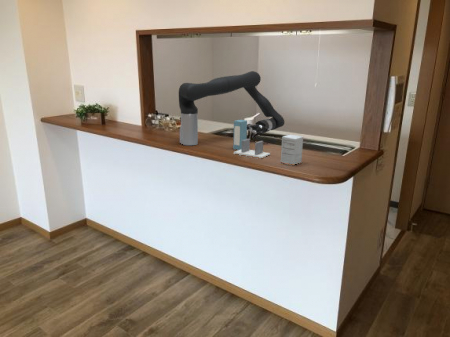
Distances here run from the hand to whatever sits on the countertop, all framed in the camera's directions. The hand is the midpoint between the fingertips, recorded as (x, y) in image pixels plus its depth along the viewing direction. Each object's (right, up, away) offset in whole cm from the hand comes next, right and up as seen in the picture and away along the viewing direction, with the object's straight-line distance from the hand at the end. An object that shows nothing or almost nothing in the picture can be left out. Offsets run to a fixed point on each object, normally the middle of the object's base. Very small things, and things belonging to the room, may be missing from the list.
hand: (250, 130), depth 204 cm
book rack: (0, -14, -19) cm, 24 cm away
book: (-6, -11, -6) cm, 14 cm away
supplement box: (+17, -19, -32) cm, 41 cm away
